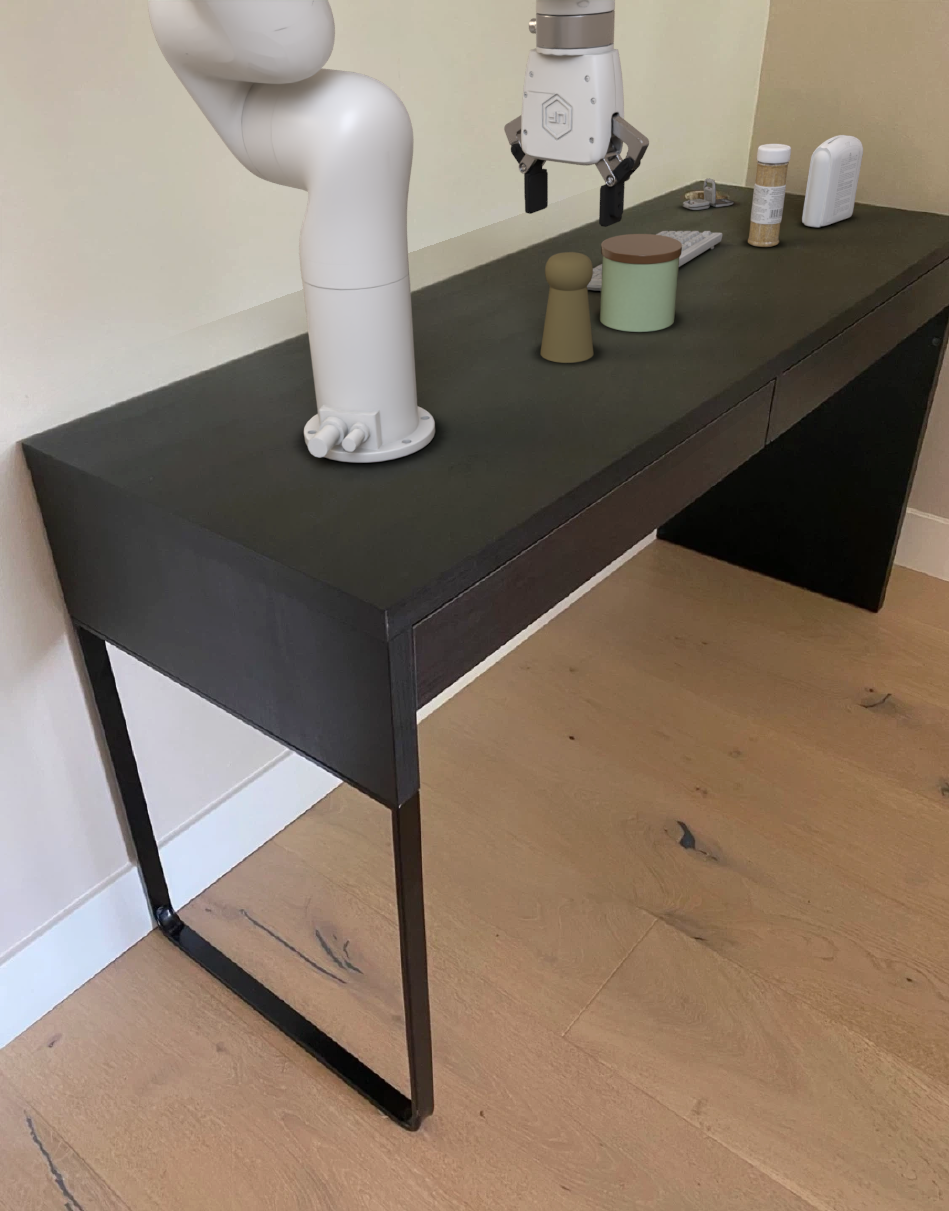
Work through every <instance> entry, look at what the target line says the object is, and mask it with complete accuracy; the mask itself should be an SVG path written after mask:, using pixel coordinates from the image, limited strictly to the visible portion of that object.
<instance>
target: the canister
mask: <svg viewBox="0 0 949 1211" xmlns="http://www.w3.org/2000/svg"><path fill="white" fill-rule="evenodd" d="M681 253H682V243H681V242H680V241H678V240H676V239H674V238H671V237H667V236H662V235H656V234H652V233H628V234H627V233H626V234H619V235H615V236H612V237H608V238H606V239H605V240H603V241H602V242H601V243H600V254H601V257H602V258H601V264H602V279H601V291H600V307H599V309H600V310H599V321H600V323H601V324H602V325H603V326H605V327H608V328H610V329H613V330H618V331H622V332H630V333H646V332H647V333H649V332H656V331H660V330H664V329H667V328H669V327H671V326H672V325H673V324H674V322H675V316H676V305H677V304H676V303H677V291H678V280H679V269H680V267H679V257H680V255H681Z"/></svg>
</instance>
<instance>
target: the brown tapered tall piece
mask: <svg viewBox="0 0 949 1211" xmlns="http://www.w3.org/2000/svg"><path fill="white" fill-rule="evenodd" d="M593 269H594V266H593V263H592V260H591V258H590V257H589V256H587V255H586V254H585V253H581V252H575V251H569V252H568V251H565V252H558V253H555V254H553V255H551V256H549V258H548V259H547V261H546V263H545V267H544V272H545V273H544V276H545V281H546V282H547V284H548V286H549V290H548V295H547V296H548V297H547V303H546V304H547V305H546V311H545V316H544V317H545V318H544V324H543V333H542V339H541V346H540V356H541V357H542V358H543V359H545V360H547V361H551V362H554V363H561V364H567V363H568V364H570V363H571V364H573V363H581V362H584V361H588V360H589V359H591V358H593V356H594V346H593V334H592V323H591V313H590V302H589V292H588V291H589V290H587V285H588V284H589V282H590V281H591V279H592V275H593Z"/></svg>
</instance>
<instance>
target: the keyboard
mask: <svg viewBox="0 0 949 1211" xmlns="http://www.w3.org/2000/svg"><path fill="white" fill-rule="evenodd" d="M655 235H662V236H667V237H671V238H674V239H676V240H678V241H680V242H681V243H682V253H681V255H680V257H679V268H680V267H682V266H683V265H684V264H686V263H688V262H690V261H691V260H693V259H694V258H696V257H697V256H699V255H701V254H703V253H704V252H706V251H708V250H709V249H710V250H713V249H714V248H715V246H716V245H717V244H719V243H720V242H722V240H723V233H722V232H711V230H704V231H702V232H700V231H699V230H692V231H691V230H677V231H676V230H669V231H668V230H661V231H660V232H658V233H655ZM601 279H602V263H601V264H599V265H597V266H595V267H593V275H592V279H591V281H590V282H589V284H588V285H587V291H600V292H601Z"/></svg>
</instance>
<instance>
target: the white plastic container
mask: <svg viewBox="0 0 949 1211" xmlns="http://www.w3.org/2000/svg"><path fill="white" fill-rule="evenodd" d="M863 153H864V147H863V143H862V141H861V140H860V139H859V138H858V137H855V136H853V135H846V134H839V135H834V136H833V137H830V138H828V139H826V140H825V141H822V142H821V143H820V144H819V145H818V146H817V147H816V148H815V149H814V150H813V153H812V154H811V156H810V162H809V169H808V174H807V175H808V176H807V183H806V188H805V189H806V190H805V195H804V202H803V210H802V216H801V222H802V224H803V225H804V226H806V227H811V228H821V227H826V226H829V225H831V224H835V223H838V222H841V221H844V220H846V219H849V218H851V217H852V215H853V213H854V210H855V209H854V207H855V203H856V202H855V201H856V196H857V192H858V184H859V178H860V173H861V166H862V161H863V155H864V154H863Z"/></svg>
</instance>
